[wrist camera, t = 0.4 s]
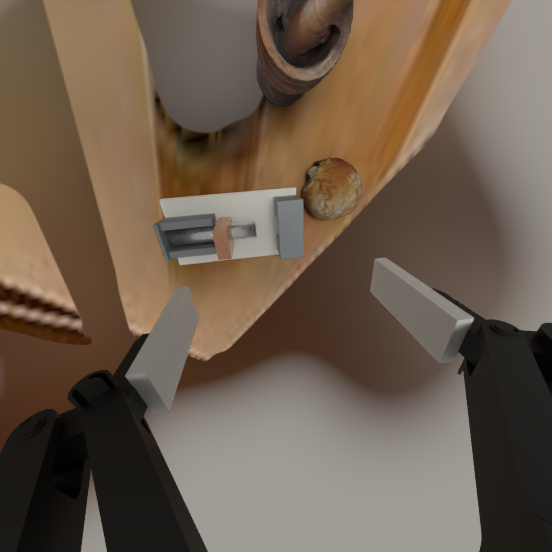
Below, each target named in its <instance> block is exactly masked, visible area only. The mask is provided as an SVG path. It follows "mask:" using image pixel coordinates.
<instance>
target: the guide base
mask: <svg viewBox="0 0 552 552" xmlns="http://www.w3.org/2000/svg"><path fill="white" fill-rule="evenodd" d="M159 202H160V205H161V208H162V211H163V214H164V219H162V220H160V221H159V222H157V223H156V224H154V225H153V227H154V230H155V233H156V235H157V238H158V241H159V244H160V247H161V250H162V252H163V255H164V258H165V261H169V260H170V259H173V258H178V261H179V264H180V265H186V264H195V263H204V262H213V261H222V260H218V257H217V252H216V248H215V243H214V242H207V243H197V244H188V245H178V246H173V245H172V244H171V243H170V240H169V236H168V233H169V230H176V229H186V228H196V227H206V226H213V225H216V223H217V221H218V220H219V218H220V217H231V220H232V223H240V222H250V221H255V226H256V235H257V237H255V238H246V239H236V240H235V243H234V249H233V255H232V259H240V258H249V257H259V256H268V255H277V254H279V255H280V258H281V260H282V259H291V258H300V257H304V233H303V199H302V198H300V197H299V196H297V195H296V187H289V188H277V189H266V190H255V191H243V192H232V193H220V194H209V195H197V196H186V197H175V198H163V199H159ZM226 260H231V259H226Z"/></svg>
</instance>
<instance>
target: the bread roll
mask: <svg viewBox="0 0 552 552" xmlns="http://www.w3.org/2000/svg"><path fill="white" fill-rule="evenodd" d="M308 174H309V175H307V177H306V184H305V185H304V188H303V194H302V197H303V203H304V205H305V207H306V208H307V209H308V211H309V212H310V213H311V215H312V216H313V217H315V218H318V219H322V220H328V221H329V220H332V219H335V218H339V217H343V216H346V215H348V214H350V213H351V212H352V211H353V210H354V209H355V207H356V206H357V204H358V202H359V199H360V196H361V191H362V184H361V180H360V178H359V176H358V173H357V171H356V169H354V167H353V166H352V165H350V164H349V163H348V162H345V161H344V160H343V159H340V158H330V157H329V158H328V159H325V160H322V161H316V162H315V163H314V164H313V167H312V168H311V169H309V171H308Z"/></svg>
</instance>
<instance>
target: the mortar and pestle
mask: <svg viewBox="0 0 552 552" xmlns="http://www.w3.org/2000/svg"><path fill="white" fill-rule="evenodd" d="M352 19H353V0H257V22H256V40H257V49H258V56H259V57H258V60H257V81H258V84H259V87H260V89H261V90H262V92H263V94H264V95H265V96H266V98H267V99H268V100H269V101H270V102H272V103H273V104H275V105H278V106H288V105H291V104H293V103H294V102H296V101H297V100H298V99H299V98H300V97H301V96H302V95H303V94H304V93H305V92H307V91H309V90H310V89H312V88H313V87H315V86H316V85H317V84H318V83H319V82H320V81H321V80H322V79H323V78H324V77H325V76H326V75H327V74H328V73H329V72H330V71H331V70H332V69H333V67H334V66H335V64H336V63H337V62H338V60H339V59H340V57H341V55H342V52H343V50H344V48H345V46H346V43H347V40H348V37H349V34H350V30H351V23H352Z"/></svg>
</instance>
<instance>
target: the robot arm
mask: <svg viewBox="0 0 552 552" xmlns="http://www.w3.org/2000/svg"><path fill="white" fill-rule="evenodd" d="M370 291H371V293H372V294H373V295H374V296H375V297H376V298H377V299H378V300H379V301H380V302H381V303H382V304H383V305H384V306H385V307H386V308H387V309H388V310H389V311H390V312H391V313H392V314H393V316H394V317H395V318H396V319H397V320H398V321H399V322H400V323H401V324H402V325H403V326H404V327H405V328H406V329H407V330H408V331H409V332H410V333H411V334H412V335H413V336H414V337H415V338H416V339H417V340H418V341H419V343H421V345H422V346H423V347H424V348H425V349H426V350H427V351H428V352H429V353H430V354H431V355H432V356H433V357H434V358H435V359H436V360H437V361H438V362H439V363H445V362H451V361H454V360H455V358H456V356H457V354H458V352H459V353H461V355H462V356H464V357H465V358H464V360H463V362H462V364H461V366H460V368H459V370H458V374H461V372H462V371H464V381H465V389H466V399H467V407H468V416H469V425H470V434H471V442H472V452H473V461H474V470H475V479H476V488H477V497H478V506H479V514H480V523H481V534H482V540H481V547H480V551H479V552H552V323H544V324H542V325H541V326H540V328H539V329H538V331H537V332H536V331H522V330H519V329H518V328H516V327H515V326H513V325H511V324H508V323H506V322H503V321H499V320H492V319H491V320H485V319H484V318H482V317H481V316H479V315H478V314H476V313H474V312H473V311H472V310H470V309H469V308H467V307H466V306H464V305H463V304H460V303H459V302H458V301H456V300H455V299H453V298H452V297H450V296H449V295H447V294H446V293H444V292H442V291H439V290H436V289H434V288H433V289H431V288H430V287H428V286H427V285H425V284H423V283H422V282H421V281H419V280H418V279H416V278H415V277H413V276H411V275H410V274H409V273H407V272H406V271H404V270H403V269H402V268H400V267H399V266H397V265H396V264H394V263H393V262H391V261H390V260H388V259H387V258H378V259H375V262H374V269H373V276H372V283H371V290H370ZM198 320H199V316H198V313H197V310H196V308H195V305H194V302H193V299H192V296H191V294H190V291H189V288H188V286H186V287H179V288H176V289H175V291H174V293H173V294H172V296H171V298H170V300H169V301H168V303H167V305H166V306H165V308H164V310H163V312H162V313H161V315H160V317H159V318H158V320H157V322H156V324H155V325H154V327H153V329H152V330H151V332H150V333H148V334H143V335H142V336H141V337H139V338H138V339H137V340H136V341H135V342H134V344H133V345H132V347H131V348H130V350H129V352H128V353H127V354H126V356H125V359H123V361H122V362H121V364H120V365H119V367H118V369H117V370H116V372H115V373H114V375H113V376H112V374H111V373H110V372H109V371H108V370H99V371H95V372H93V373H91V374H89V375H87V376H85V377H84V378H83V379H81V380H80V381H79V382H77V383H76V384H75V385H74V386H73V388H72V389H71V390H70V392H69V393H68V398H67V399H68V400H69V401H70V402H71V403H72V404H73V405H74V406H75V407H76V408H74V409H71V410H69V411H67V412H64V413H62V414H58V412H56V411H55V410H54V409H45V410H43V411H40V412H38V413H36V414H34V415H32V416H30V417H29V418H28V419H26V420H25V421H23V422H22V423H21V424H20V425H19V426H18V427H17V428H16V429H15V430H14V431H13V432H12V433H11V434H10V436H9V437H8V439H7V440H6V442H5V445H4V447H3V449H2V451H1V453H0V552H81V545H82V537H83V529H84V521H85V513H86V505H87V496H88V488H89V480H90V471H91V470H92V475H93V481H94V485H95V490H96V496H97V501H98V506H99V512H100V517H101V522H102V527H103V532H104V537H105V542H106V548H107V552H208V551H207V549H206V547H205V545H204V542H203V540H202V538H201V536H200V534H199V532H198V530H197V528H196V525H195V523H194V521H193V519H192V517H191V515H190V513H189V511H188V508H187V507H186V504H185V502H184V500H183V498H182V496H181V494H180V491H179V489H178V487H177V485H176V483H175V481H174V479H173V476H172V474H171V472H170V470H169V468H168V466H167V464H166V462H165V460H164V457H163V455H162V453H161V451H160V449H159V447H158V445H157V443H156V440H155V438H154V436H153V434H152V432H151V430H150V428H149V426H148V423H147V421H146V419H145V418H144V417H143V416H144V414H145V411H146V409H147V408H148V409H149V410H150V412H151V413H152V414H158V413H163V412H169V410H170V407H171V404H172V401H173V398H174V395H175V392H176V389H177V386H178V383H179V379H180V376H181V373H182V370H183V367H184V364H185V361H186V358H187V354H188V351H189V348H190V345H191V342H192V339H193V336H194V333H195V329H196V326H197V323H198Z"/></svg>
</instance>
